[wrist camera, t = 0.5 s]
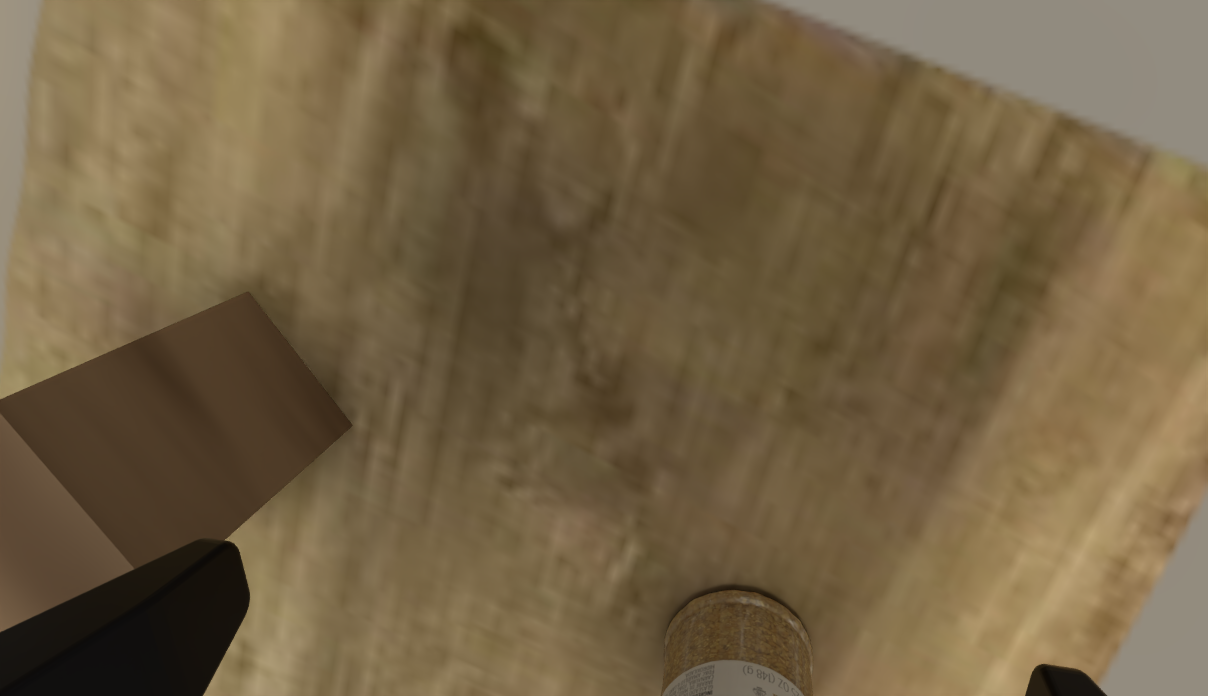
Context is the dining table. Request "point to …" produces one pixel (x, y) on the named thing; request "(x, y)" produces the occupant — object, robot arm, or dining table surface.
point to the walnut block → (151, 452)
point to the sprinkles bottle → (736, 648)
